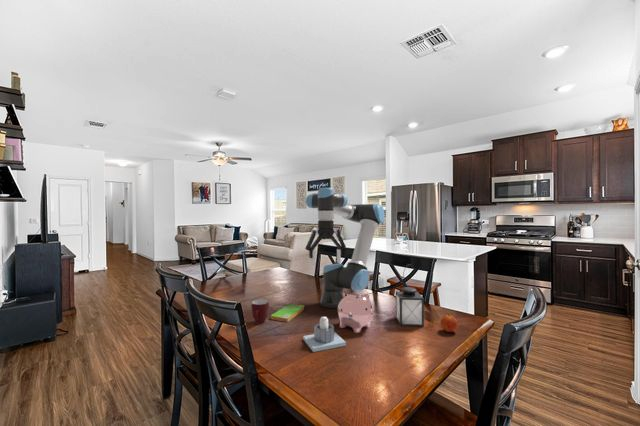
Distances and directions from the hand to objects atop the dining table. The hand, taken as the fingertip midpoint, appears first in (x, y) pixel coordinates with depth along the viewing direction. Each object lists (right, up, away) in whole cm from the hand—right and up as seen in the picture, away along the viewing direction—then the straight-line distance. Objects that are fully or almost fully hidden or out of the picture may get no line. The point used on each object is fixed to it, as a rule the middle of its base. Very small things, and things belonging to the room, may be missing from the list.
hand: (326, 263), depth 142 cm
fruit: (+55, -29, -10) cm, 63 cm away
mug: (-32, -29, 0) cm, 43 cm away
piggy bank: (+14, -29, -5) cm, 32 cm away
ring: (-1, -27, -21) cm, 34 cm away
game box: (-19, -29, +13) cm, 38 cm away
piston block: (-1, -29, -21) cm, 36 cm away
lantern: (+41, -29, +1) cm, 50 cm away
